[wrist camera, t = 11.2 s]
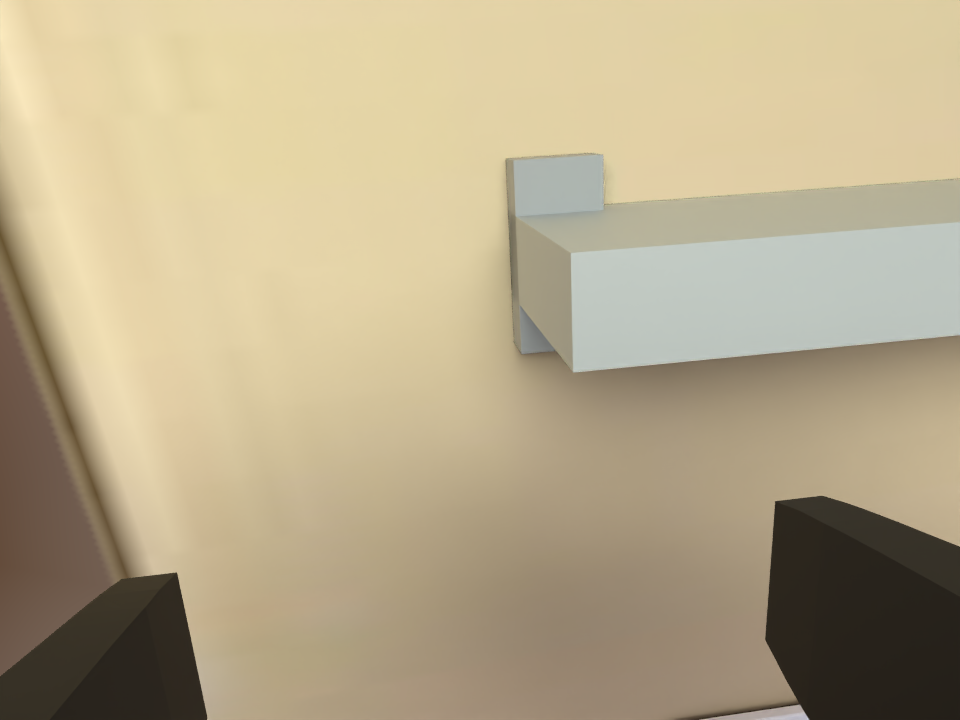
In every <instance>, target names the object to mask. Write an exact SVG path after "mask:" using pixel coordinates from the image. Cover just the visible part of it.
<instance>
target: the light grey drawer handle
mask: <svg viewBox="0 0 960 720" xmlns="http://www.w3.org/2000/svg"><path fill="white" fill-rule="evenodd" d="M506 171H507V194H508V217H509V239H510V262H511V284H512V307H513V330H514V343H515V345H516V346H517V348H518V349H519V351H520V353H521V354H528V353H539V352H549V351H557V353H558V354H559V355H560V357H561V358H562V359H563V360H564V362H565V363H566V364H567V365H568V367H569V368H570V369H571V371H572V372H573V373H574V372H584V371H594V370H605V369H615V368H625V367H636V366H646V365H656V364H667V363H677V362H687V361H698V360H708V359H718V358H729V357H739V356H749V355H760V354H770V353H780V352H791V351H801V350H811V349H822V348H832V347H842V346H853V345H863V344H873V343H884V342H894V341H904V340H915V339H925V338H935V337H946V336H956V335H960V179H948V180H935V181H921V182H907V183H893V184H880V185H866V186H852V187H838V188H825V189H811V190H797V191H783V192H770V193H756V194H742V195H728V196H715V197H701V198H687V199H673V200H660V201H646V202H632V203H618V204H605V205H604V199H603V155H602V154H595V153H584V154H568V155H553V156H537V157H522V158H507V159H506Z"/></svg>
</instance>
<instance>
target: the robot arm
mask: <svg viewBox="0 0 960 720" xmlns="http://www.w3.org/2000/svg"><path fill="white" fill-rule="evenodd" d="M765 640H766V642H767V644H768V646H769V648H770V650H771V652H772V654H773V655H774V657H775V659H776V661H777V663H778V665H779V667H780V669H781V671H782V673H783V675H784V677H785V679H786V680H787V682H788V684H789V686H790V688H791V689H792V691H793V693H794V695H795V696H796V698H797V700H798V702H799V704H800V705H794V706H787V707H781V708H774V709H767V710H761V711H754V712H747V713H741V714H734V715H727V716H721V717H714V718H707V719H701V720H960V547H959V546H956V545H954V544H951V543H949V542H946V541H944V540H941V539H939V538H936V537H934V536H931V535H929V534H926V533H924V532H921V531H919V530H916V529H914V528H911V527H909V526H906V525H904V524H901V523H899V522H896V521H894V520H891V519H888V518H886V517H883V516H881V515H878V514H875V513H873V512H870V511H867V510H865V509H862V508H859V507H856V506H853V505H850V504H847V503H844V502H841V501H838V500H835V499H831V498H828V497H824V496H817V497H808V498H800V499H792V500H783V501H775V514H774V527H773V541H772V555H771V569H770V582H769V596H768V610H767V624H766V637H765ZM0 720H207V714H206V709H205V704H204V699H203V695H202V690H201V685H200V680H199V675H198V671H197V666H196V661H195V656H194V652H193V647H192V642H191V637H190V632H189V628H188V623H187V618H186V613H185V609H184V604H183V599H182V594H181V589H180V585H179V580H178V575H177V573H169V574H161V575H153V576H144V577H136V578H127V579H121V580H120V581H118V582H117V583H116V584H114V585H113V586H111V587H110V588H108V589H107V590H106V591H104V592H103V593H102V594H101V595H99V596H98V597H97V598H95V599H94V600H93V601H92V602H90V603H89V604H88V605H87V606H85V607H84V608H83V609H82V610H80V611H79V612H78V613H77V614H76V615H74V616H73V617H72V618H71V619H70V620H68V621H67V622H66V623H65V624H63V625H62V626H61V627H60V628H59V629H57V630H56V631H55V632H54V633H53V634H51V635H50V636H49V637H48V638H47V639H45V640H44V641H43V642H42V643H41V644H40V645H38V646H37V647H36V648H34V649H33V650H32V651H31V652H30V653H28V654H27V655H26V656H25V657H23V658H22V659H21V660H20V661H19V662H17V663H16V664H15V665H14V666H12V667H11V668H10V669H9V670H7V671H6V672H5V673H4V674H3V675H1V676H0Z"/></svg>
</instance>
